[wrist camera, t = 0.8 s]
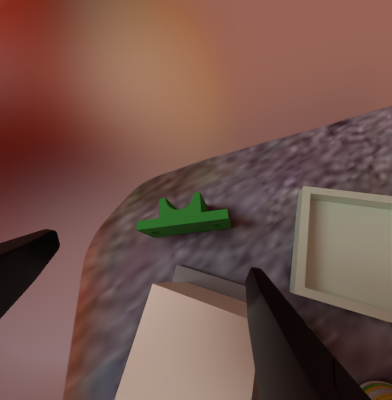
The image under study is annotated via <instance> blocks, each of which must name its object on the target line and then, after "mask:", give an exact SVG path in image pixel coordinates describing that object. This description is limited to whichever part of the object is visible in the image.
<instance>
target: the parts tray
mask: <svg viewBox="0 0 392 400" xmlns="http://www.w3.org/2000/svg"><path fill="white" fill-rule="evenodd" d="M289 292H291V293H294V294H297V295H300V296H304V297H307V298H310V299H314V300H317V301H320V302H324V303H327V304H330V305H334V306H337V307H340V308H344V309H347V310H350V311H354V312H357V313H360V314H364V315H367V316H370V317H374V318H377V319H380V320H384V321H387V322H391V323H392V196H385V195H376V194H368V193H359V192H350V191H342V190H333V189H324V188H316V187H307V186H303V187H302V189H301V190H300V192H299V193H298V201H297V212H296V223H295V234H294V245H293V256H292V268H291V279H290V290H289Z"/></svg>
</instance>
